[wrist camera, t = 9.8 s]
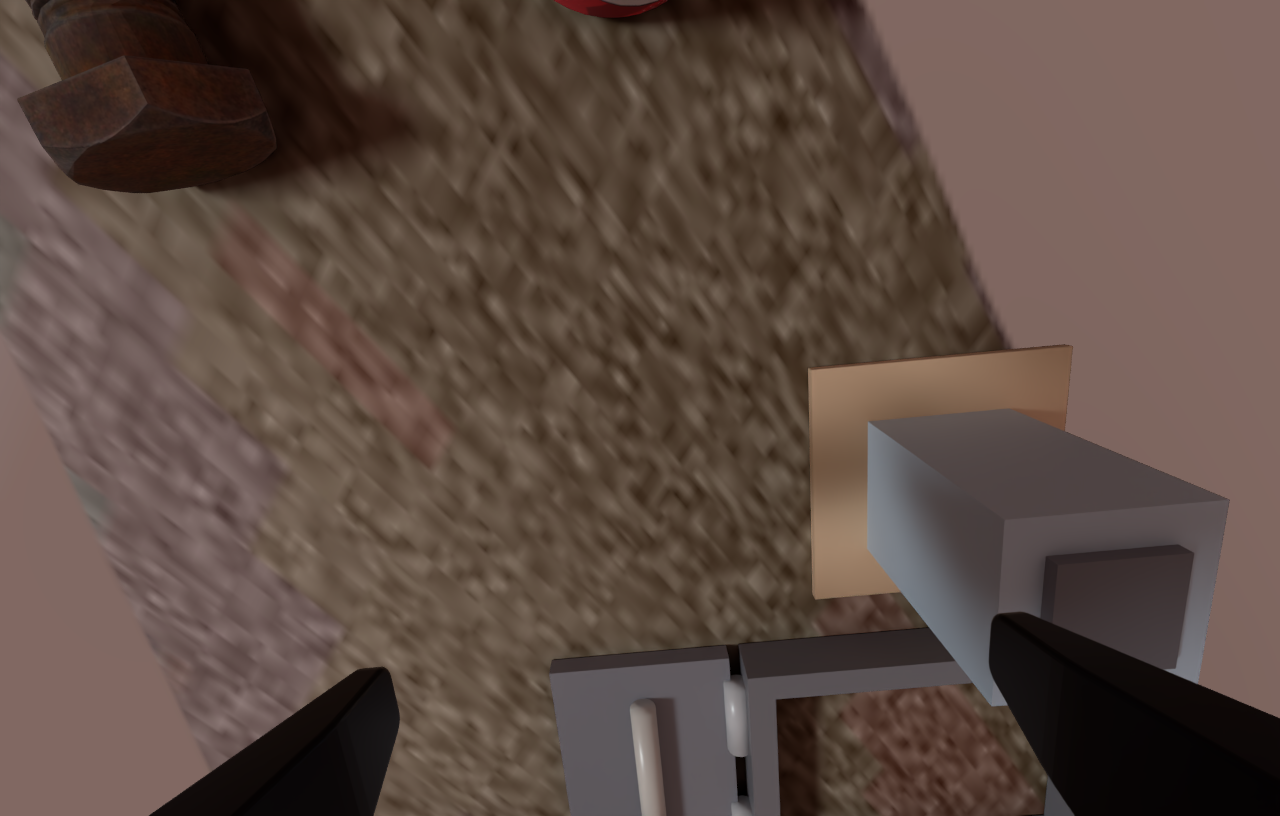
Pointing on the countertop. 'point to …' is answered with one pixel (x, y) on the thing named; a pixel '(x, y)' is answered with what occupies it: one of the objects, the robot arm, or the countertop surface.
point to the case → (717, 718)
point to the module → (1040, 537)
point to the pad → (894, 393)
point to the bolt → (141, 100)
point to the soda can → (611, 7)
